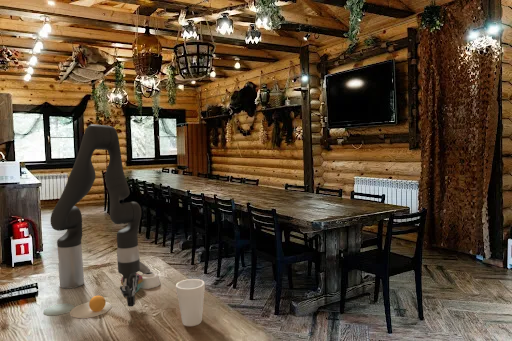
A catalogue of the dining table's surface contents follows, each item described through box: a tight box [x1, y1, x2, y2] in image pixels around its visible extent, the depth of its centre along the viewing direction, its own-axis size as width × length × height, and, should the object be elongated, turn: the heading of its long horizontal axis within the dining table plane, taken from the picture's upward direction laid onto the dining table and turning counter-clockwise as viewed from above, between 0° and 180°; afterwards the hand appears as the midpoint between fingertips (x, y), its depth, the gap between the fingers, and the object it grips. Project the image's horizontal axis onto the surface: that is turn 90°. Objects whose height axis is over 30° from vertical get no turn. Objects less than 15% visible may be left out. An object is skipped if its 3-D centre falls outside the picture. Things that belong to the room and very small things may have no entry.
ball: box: [88, 295, 107, 312], centre depth 149 cm, size 6×6×6 cm
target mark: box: [69, 301, 112, 319], centre depth 151 cm, size 14×14×1 cm
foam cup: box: [175, 278, 206, 327], centre depth 138 cm, size 10×9×13 cm
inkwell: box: [138, 261, 161, 290], centre depth 175 cm, size 9×18×10 cm, turn 65°
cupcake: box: [120, 272, 143, 293], centre depth 167 cm, size 9×8×12 cm
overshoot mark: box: [43, 302, 75, 317], centre depth 152 cm, size 10×10×1 cm
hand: (131, 305), depth 150 cm, fingers closed
